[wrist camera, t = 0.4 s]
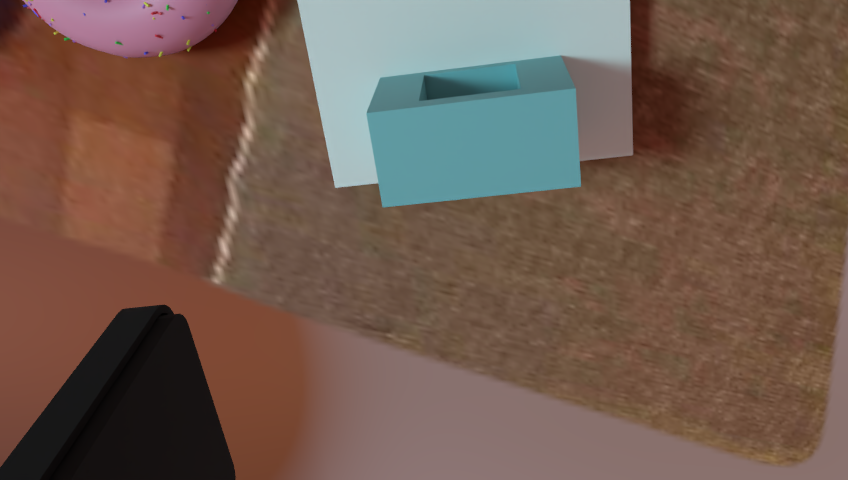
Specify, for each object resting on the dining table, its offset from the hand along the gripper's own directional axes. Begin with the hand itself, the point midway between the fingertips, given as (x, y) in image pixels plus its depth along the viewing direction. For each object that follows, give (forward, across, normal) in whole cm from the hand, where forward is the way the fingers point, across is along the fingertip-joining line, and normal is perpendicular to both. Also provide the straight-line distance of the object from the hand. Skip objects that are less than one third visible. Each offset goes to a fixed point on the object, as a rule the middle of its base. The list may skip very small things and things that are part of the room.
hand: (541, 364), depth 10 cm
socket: (+26, +1, +4) cm, 26 cm away
